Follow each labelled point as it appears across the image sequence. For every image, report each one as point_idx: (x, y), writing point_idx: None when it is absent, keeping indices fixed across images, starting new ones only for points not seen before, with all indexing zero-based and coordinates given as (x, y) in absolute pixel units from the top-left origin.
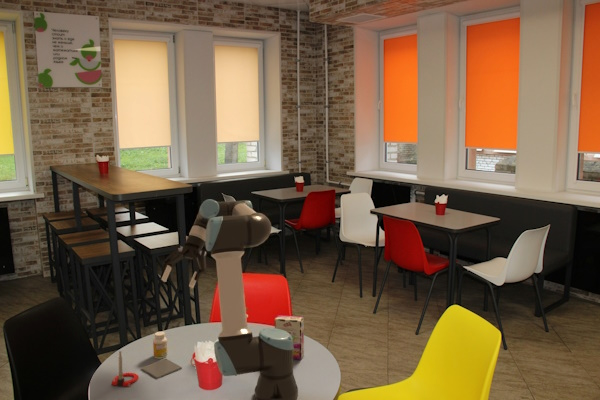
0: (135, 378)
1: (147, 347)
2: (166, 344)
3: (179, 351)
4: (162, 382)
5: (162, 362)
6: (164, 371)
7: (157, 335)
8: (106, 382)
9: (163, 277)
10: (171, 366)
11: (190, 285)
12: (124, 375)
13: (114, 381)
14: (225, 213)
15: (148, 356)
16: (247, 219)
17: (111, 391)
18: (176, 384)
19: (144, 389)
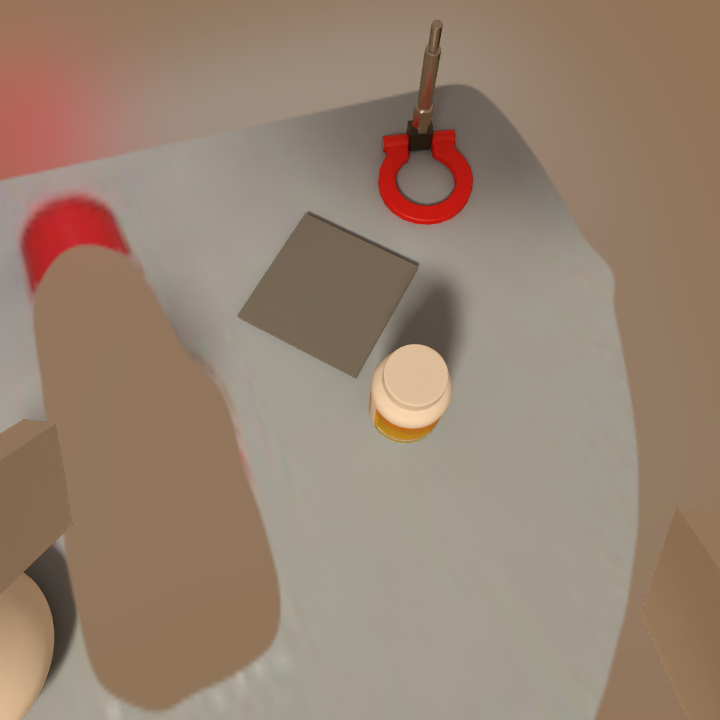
0: (385, 181)
1: (531, 486)
2: (370, 397)
3: (333, 487)
4: (270, 200)
5: (350, 334)
6: (298, 262)
7: (413, 344)
8: (486, 150)
9: (702, 542)
10: (288, 310)
11: (16, 427)
12: (448, 199)
13: (445, 132)
14: None
15: (461, 390)
16: None
17: None
18: (207, 200)
19: (313, 143)
